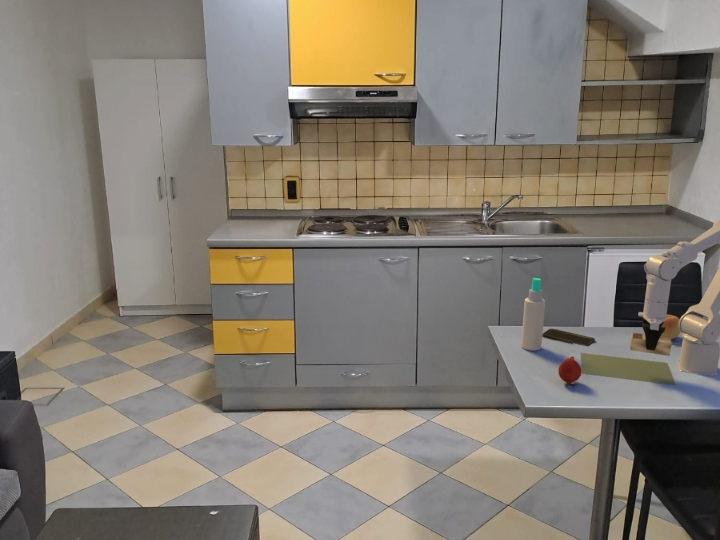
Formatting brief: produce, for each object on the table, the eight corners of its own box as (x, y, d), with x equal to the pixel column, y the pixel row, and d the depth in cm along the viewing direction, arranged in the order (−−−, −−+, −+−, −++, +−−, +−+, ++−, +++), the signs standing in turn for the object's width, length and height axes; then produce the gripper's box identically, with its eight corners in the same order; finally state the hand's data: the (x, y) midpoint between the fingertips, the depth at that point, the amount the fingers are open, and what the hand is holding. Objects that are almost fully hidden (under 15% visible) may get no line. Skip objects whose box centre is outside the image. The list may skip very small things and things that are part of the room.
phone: (550, 328, 214) (596, 338, 205) (550, 331, 214) (595, 341, 206) (541, 334, 208) (587, 345, 199) (540, 337, 208) (587, 348, 199)
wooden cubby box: (669, 350, 178) (670, 337, 177) (669, 355, 174) (671, 342, 173) (630, 344, 182) (631, 332, 181) (630, 350, 178) (631, 337, 177)
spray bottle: (545, 349, 197) (551, 280, 192) (529, 352, 195) (535, 282, 189) (532, 342, 203) (538, 275, 197) (516, 345, 200) (522, 277, 195)
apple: (650, 340, 206) (653, 317, 204) (649, 332, 214) (653, 309, 212) (680, 345, 203) (684, 320, 201) (678, 335, 210) (682, 312, 208)
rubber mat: (667, 364, 187) (667, 362, 187) (675, 386, 173) (675, 385, 173) (580, 353, 194) (580, 352, 194) (581, 374, 180) (581, 373, 179)
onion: (565, 389, 170) (568, 361, 168) (553, 380, 175) (555, 353, 173) (584, 387, 172) (587, 359, 170) (571, 378, 177) (574, 351, 175)
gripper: (640, 290, 182) (634, 335, 186) (640, 305, 169) (634, 353, 173) (667, 293, 180) (661, 339, 183) (670, 308, 167) (663, 357, 170)
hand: (650, 346), depth 178 cm, fingers closed on wooden cubby box, 4 cm apart
